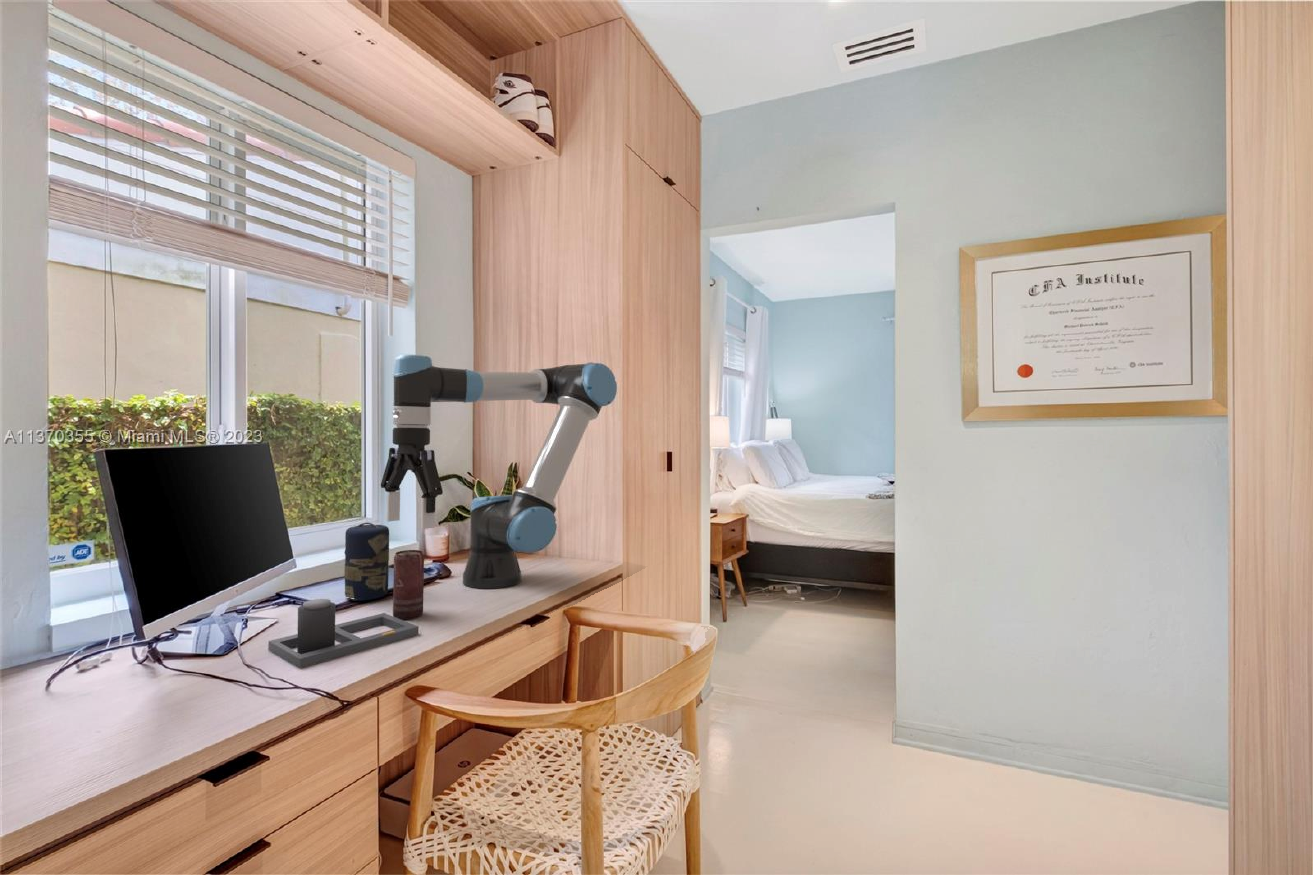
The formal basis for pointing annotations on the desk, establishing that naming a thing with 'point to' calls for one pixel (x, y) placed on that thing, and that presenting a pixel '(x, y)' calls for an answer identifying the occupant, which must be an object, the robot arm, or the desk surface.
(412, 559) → the can
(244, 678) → the desk surface
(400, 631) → the desk organizer tray
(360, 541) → the canister
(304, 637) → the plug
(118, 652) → the desk surface
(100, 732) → the desk surface
